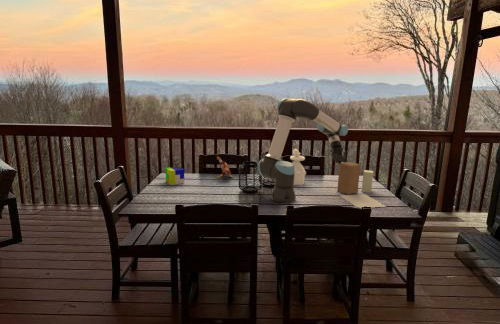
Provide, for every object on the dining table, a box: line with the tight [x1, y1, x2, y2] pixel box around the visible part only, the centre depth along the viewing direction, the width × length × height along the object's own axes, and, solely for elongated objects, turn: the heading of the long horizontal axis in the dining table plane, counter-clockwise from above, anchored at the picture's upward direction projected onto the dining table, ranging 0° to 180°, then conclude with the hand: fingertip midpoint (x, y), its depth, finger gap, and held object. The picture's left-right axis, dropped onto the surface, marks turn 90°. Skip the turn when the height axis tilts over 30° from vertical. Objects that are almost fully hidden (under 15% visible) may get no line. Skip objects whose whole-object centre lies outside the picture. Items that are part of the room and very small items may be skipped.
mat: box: [339, 194, 387, 209], centre depth 206 cm, size 23×18×1 cm
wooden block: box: [336, 161, 361, 195], centre depth 222 cm, size 10×10×20 cm
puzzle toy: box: [165, 166, 185, 186], centre depth 236 cm, size 10×10×10 cm
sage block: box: [361, 169, 374, 194], centre depth 227 cm, size 6×6×14 cm
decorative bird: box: [216, 155, 234, 179], centre depth 251 cm, size 28×18×15 cm, turn 6°
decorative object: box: [289, 148, 307, 186], centre depth 241 cm, size 16×14×25 cm
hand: (344, 170), depth 229 cm, fingers closed
